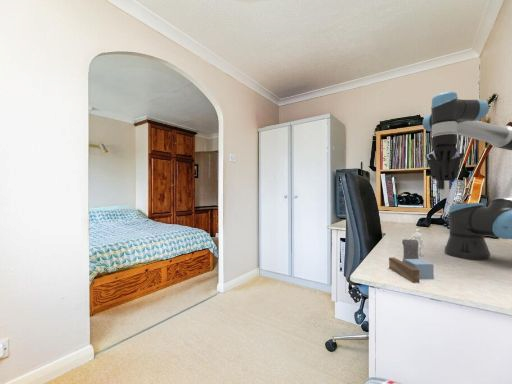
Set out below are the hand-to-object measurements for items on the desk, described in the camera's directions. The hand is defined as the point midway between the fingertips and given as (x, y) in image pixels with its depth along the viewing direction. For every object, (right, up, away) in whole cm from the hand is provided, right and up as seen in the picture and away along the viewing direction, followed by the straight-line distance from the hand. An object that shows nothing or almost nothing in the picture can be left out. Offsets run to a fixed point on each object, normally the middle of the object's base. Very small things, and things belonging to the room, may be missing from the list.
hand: (444, 197), depth 89 cm
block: (-15, -27, -7) cm, 32 cm away
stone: (-11, -27, +3) cm, 29 cm away
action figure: (+1, -26, +17) cm, 32 cm away
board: (-20, -27, -6) cm, 34 cm away
